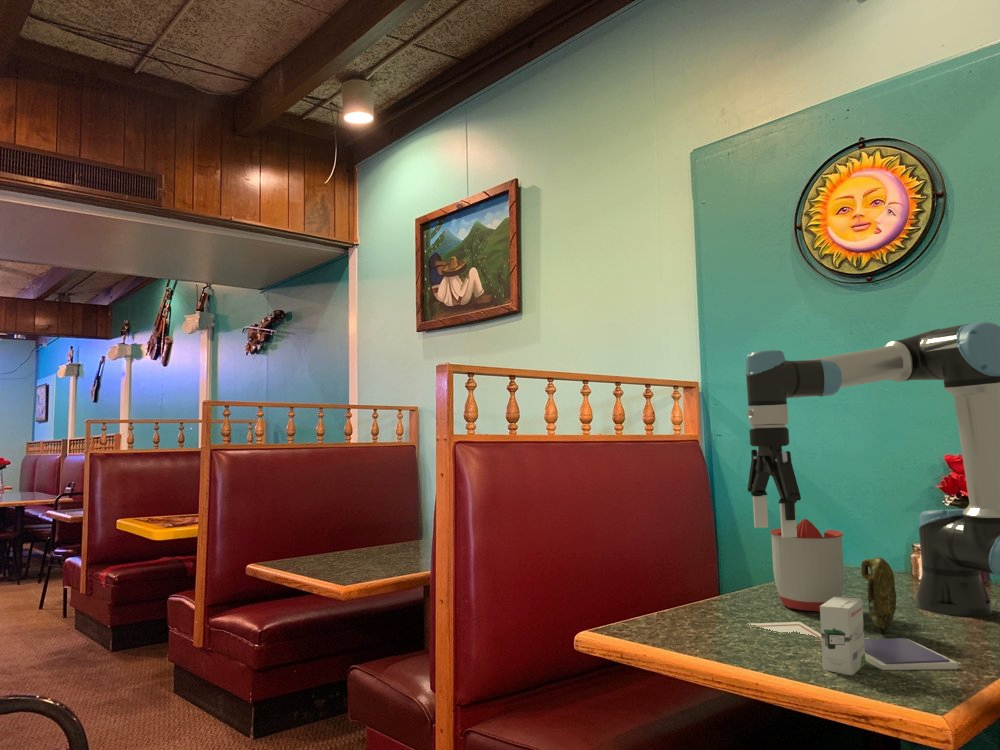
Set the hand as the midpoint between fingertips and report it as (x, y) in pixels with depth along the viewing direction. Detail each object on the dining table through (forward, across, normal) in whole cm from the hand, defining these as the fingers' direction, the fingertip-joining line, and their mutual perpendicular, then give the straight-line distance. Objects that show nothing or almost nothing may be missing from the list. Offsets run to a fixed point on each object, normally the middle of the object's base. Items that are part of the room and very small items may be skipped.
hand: (774, 532), depth 149 cm
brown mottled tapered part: (+21, +1, +20) cm, 28 cm away
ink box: (+21, +22, +2) cm, 30 cm away
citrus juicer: (+21, -22, +17) cm, 34 cm away
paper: (+20, 0, 0) cm, 20 cm away
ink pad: (+20, +17, +14) cm, 30 cm away
